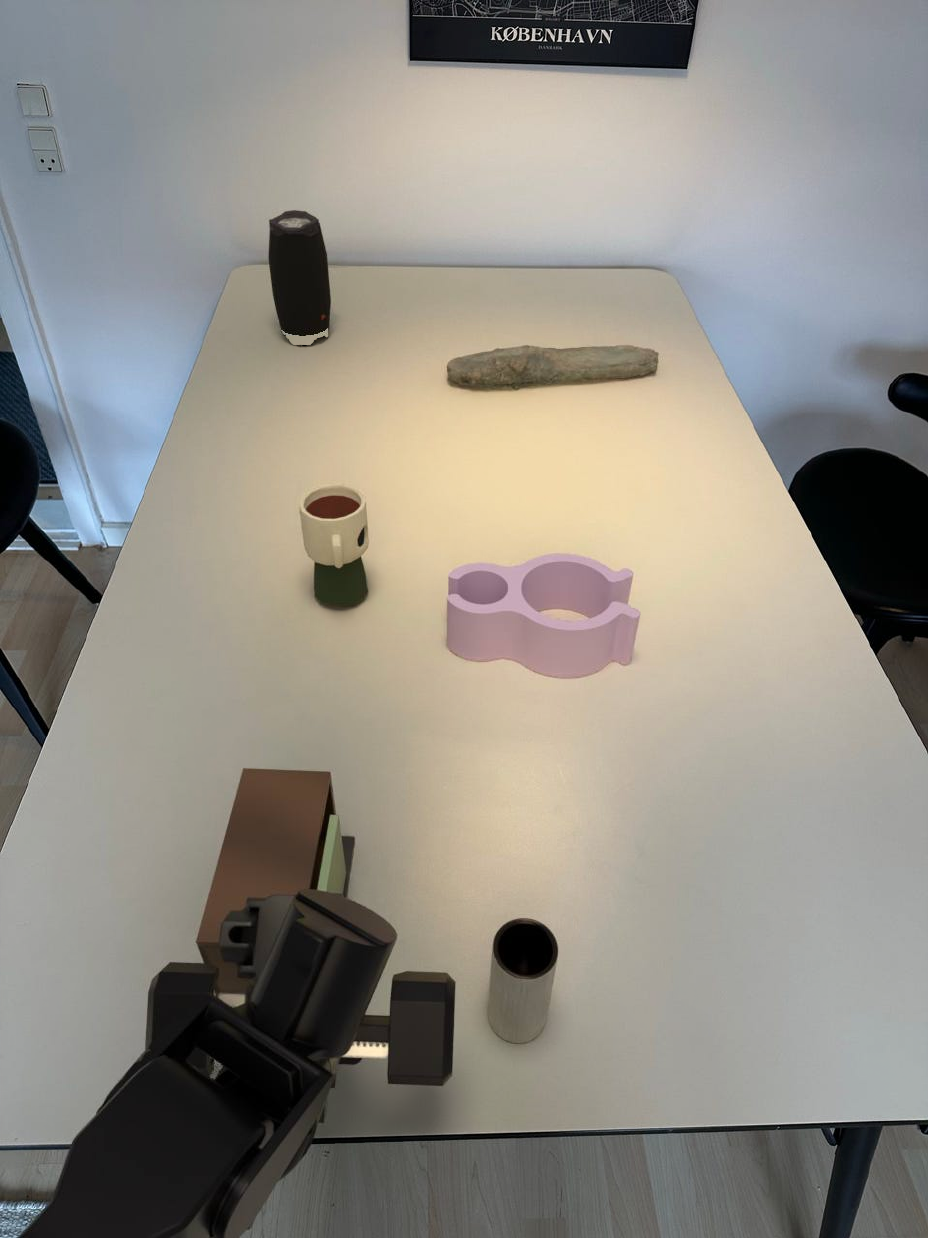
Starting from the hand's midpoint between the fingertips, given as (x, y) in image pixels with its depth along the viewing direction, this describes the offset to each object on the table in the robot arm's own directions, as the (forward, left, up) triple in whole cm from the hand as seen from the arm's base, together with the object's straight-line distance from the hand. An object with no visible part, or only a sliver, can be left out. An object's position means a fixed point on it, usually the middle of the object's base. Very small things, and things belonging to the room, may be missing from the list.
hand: (325, 977), depth 64 cm
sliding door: (+7, +5, -6) cm, 10 cm away
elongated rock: (+98, +43, -7) cm, 107 cm away
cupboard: (+4, +9, -6) cm, 12 cm away
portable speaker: (+83, +84, -7) cm, 118 cm away
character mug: (+37, +33, -7) cm, 50 cm away
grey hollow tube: (+9, -11, -7) cm, 15 cm away
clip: (+45, +11, -7) cm, 47 cm away
